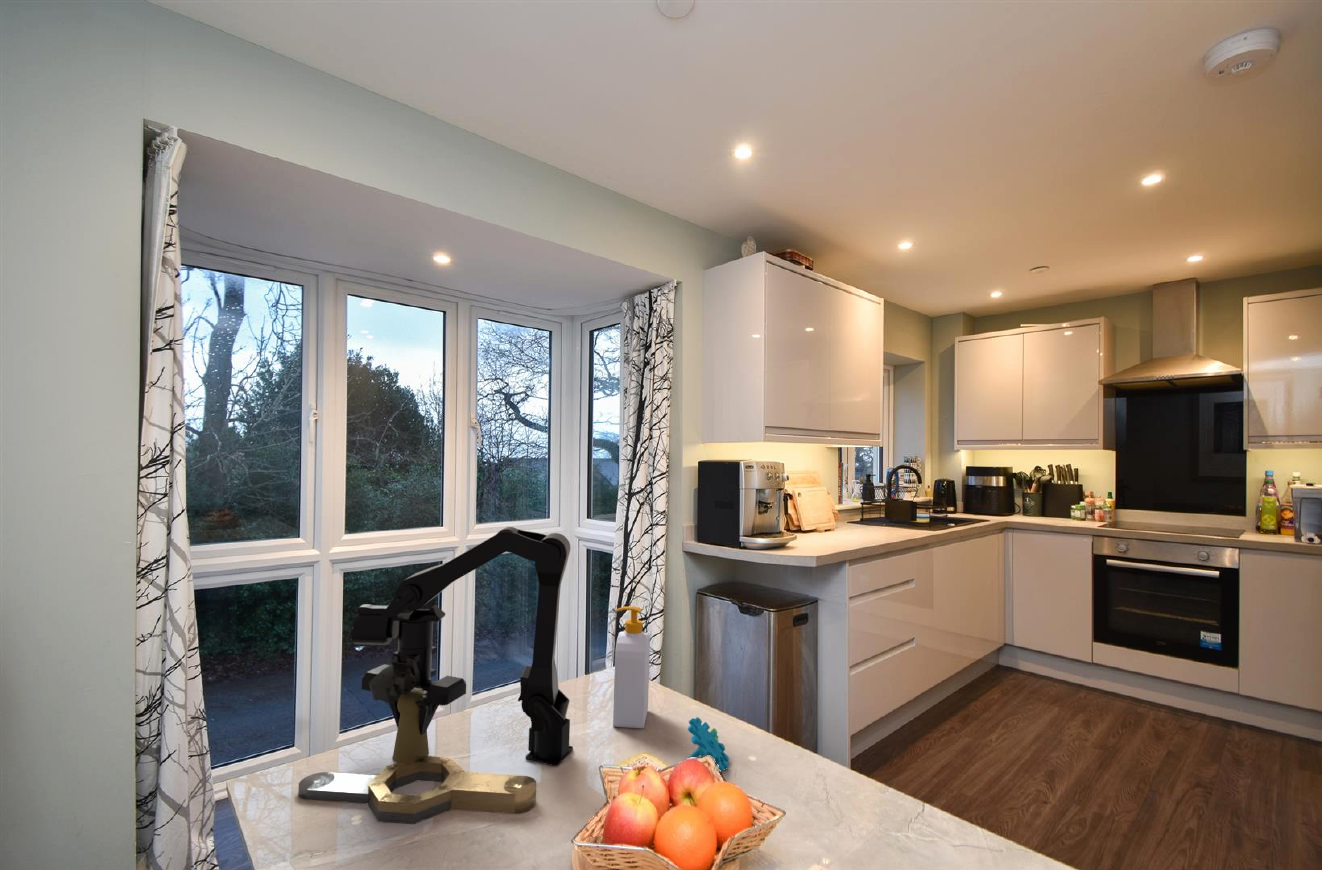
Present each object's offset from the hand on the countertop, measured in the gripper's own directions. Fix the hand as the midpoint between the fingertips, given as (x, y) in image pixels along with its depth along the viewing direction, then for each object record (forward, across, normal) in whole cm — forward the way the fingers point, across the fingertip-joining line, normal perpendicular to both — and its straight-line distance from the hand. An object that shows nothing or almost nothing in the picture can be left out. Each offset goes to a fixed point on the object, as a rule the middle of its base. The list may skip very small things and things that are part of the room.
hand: (411, 732), depth 106 cm
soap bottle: (+4, +31, +28) cm, 42 cm away
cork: (+4, 0, 0) cm, 4 cm away
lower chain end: (+4, +4, -12) cm, 13 cm away
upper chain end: (+4, +16, -8) cm, 19 cm away
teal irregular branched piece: (+4, +51, +17) cm, 54 cm away
